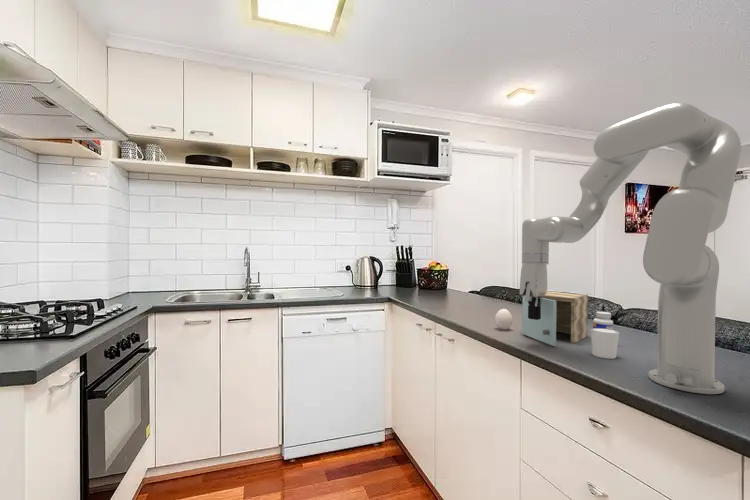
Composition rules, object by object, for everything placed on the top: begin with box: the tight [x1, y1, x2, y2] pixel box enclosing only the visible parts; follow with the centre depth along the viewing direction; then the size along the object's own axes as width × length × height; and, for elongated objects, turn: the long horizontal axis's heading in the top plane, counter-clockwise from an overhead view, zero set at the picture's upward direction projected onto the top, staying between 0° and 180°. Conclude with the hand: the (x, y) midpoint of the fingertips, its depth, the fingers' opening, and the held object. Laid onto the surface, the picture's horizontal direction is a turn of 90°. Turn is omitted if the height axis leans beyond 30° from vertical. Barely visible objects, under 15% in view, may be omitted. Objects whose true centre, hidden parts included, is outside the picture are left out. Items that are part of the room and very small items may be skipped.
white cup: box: [589, 327, 620, 360], centre depth 99 cm, size 7×7×7 cm
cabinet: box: [543, 290, 589, 344], centre depth 121 cm, size 14×16×14 cm
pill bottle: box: [592, 311, 614, 330], centre depth 112 cm, size 5×5×10 cm
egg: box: [494, 308, 514, 330], centre depth 130 cm, size 6×6×8 cm
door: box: [521, 296, 557, 347], centre depth 114 cm, size 2×15×14 cm, turn 12°
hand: (534, 318), depth 108 cm, fingers closed
